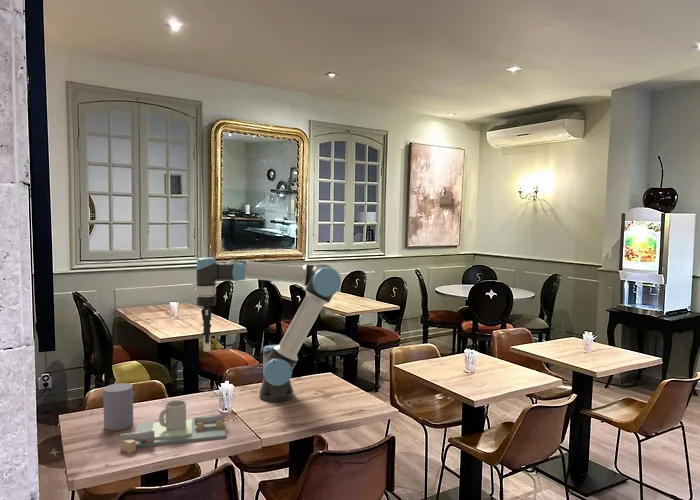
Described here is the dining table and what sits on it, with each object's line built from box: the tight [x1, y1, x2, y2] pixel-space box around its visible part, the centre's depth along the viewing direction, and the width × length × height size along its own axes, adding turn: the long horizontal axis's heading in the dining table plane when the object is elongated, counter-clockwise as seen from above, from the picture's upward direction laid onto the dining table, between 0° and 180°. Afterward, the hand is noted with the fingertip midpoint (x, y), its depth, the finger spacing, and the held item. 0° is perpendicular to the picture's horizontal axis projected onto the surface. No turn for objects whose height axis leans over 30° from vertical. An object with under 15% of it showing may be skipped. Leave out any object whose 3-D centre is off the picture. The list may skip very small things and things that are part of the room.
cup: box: [158, 399, 187, 431], centre depth 198 cm, size 7×10×9 cm
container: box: [102, 382, 134, 432], centre depth 204 cm, size 10×10×15 cm
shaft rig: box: [119, 414, 227, 454], centre depth 197 cm, size 36×24×5 cm
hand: (206, 346), depth 220 cm, fingers open, 13 cm apart
